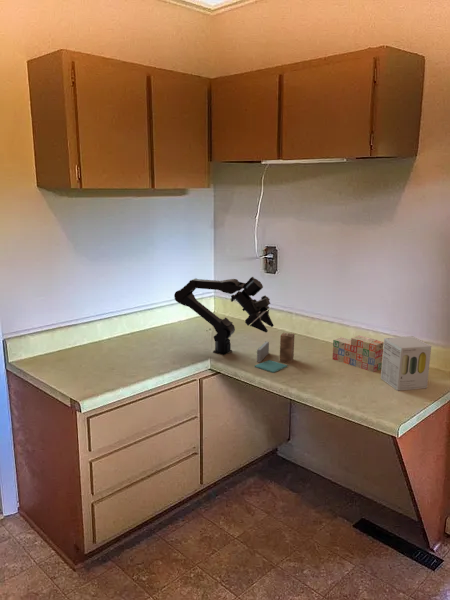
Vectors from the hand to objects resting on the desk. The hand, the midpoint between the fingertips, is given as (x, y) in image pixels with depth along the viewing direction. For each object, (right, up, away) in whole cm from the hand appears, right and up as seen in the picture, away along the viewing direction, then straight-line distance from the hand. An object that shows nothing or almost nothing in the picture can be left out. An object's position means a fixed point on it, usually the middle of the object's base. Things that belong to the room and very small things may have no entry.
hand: (270, 329), depth 240 cm
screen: (-3, -13, +4) cm, 14 cm away
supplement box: (+51, -21, -24) cm, 60 cm away
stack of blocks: (+37, -15, -2) cm, 41 cm away
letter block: (+7, -14, +1) cm, 16 cm away
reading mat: (0, -16, -7) cm, 17 cm away
